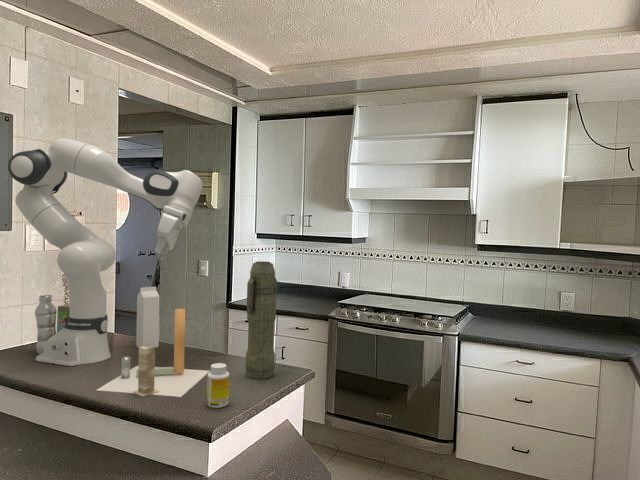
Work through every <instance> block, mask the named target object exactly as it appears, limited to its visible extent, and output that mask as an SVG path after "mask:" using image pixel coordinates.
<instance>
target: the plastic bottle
mask: <svg viewBox="0 0 640 480" xmlns="http://www.w3.org/2000/svg"><path fill="white" fill-rule="evenodd" d="M38 297H39V298H38V302H39V304H38V305H37V307H36V308H35V310H34V316H35V321H36V329H37V336H36V337H37V339H36V340H37V341H36V344H35V350H36V353H37V355H40V354H42V353H44V349H45V344H46V342H47V340H48V339H49V338H51V337H52V336H53V335H55V334H56V333H57V314H58V309H57V308H56V306H55V305H54V304H53V302H52V301H53V298H52V297H53V295H52V294H47V295H46V294H45V295H44V294H43V295H39V296H38Z"/></svg>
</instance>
